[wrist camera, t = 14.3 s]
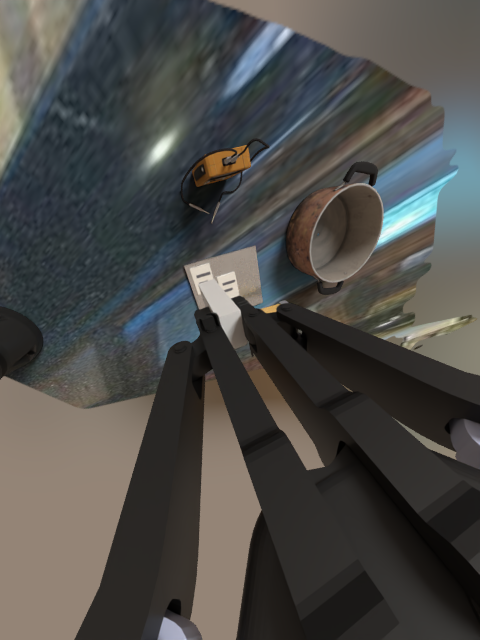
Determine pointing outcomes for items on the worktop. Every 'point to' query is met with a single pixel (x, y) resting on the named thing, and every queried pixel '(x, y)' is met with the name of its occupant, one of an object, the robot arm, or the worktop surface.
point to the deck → (244, 270)
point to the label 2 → (229, 284)
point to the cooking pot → (336, 229)
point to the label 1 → (201, 275)
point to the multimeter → (221, 167)
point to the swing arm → (272, 307)
